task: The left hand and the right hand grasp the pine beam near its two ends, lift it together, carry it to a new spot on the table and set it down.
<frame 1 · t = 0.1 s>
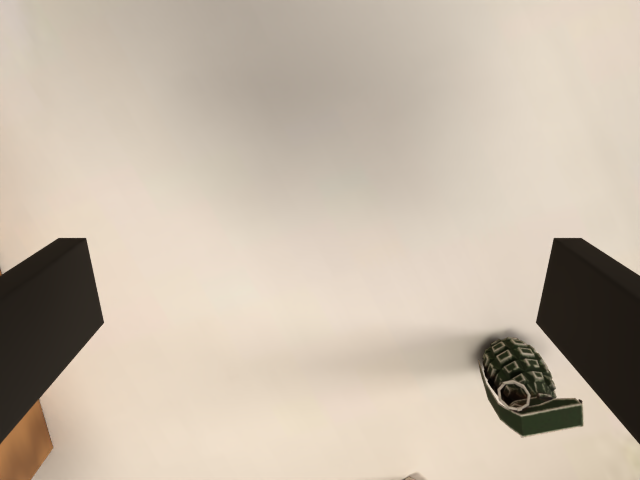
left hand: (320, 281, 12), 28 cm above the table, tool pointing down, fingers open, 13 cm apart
grenade: (499, 350, 47), on the table
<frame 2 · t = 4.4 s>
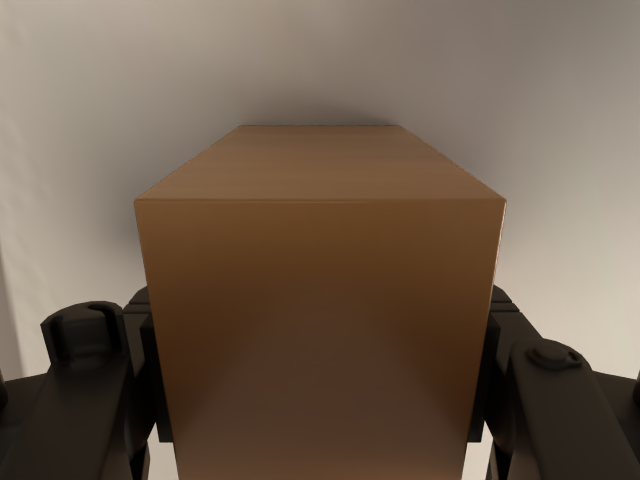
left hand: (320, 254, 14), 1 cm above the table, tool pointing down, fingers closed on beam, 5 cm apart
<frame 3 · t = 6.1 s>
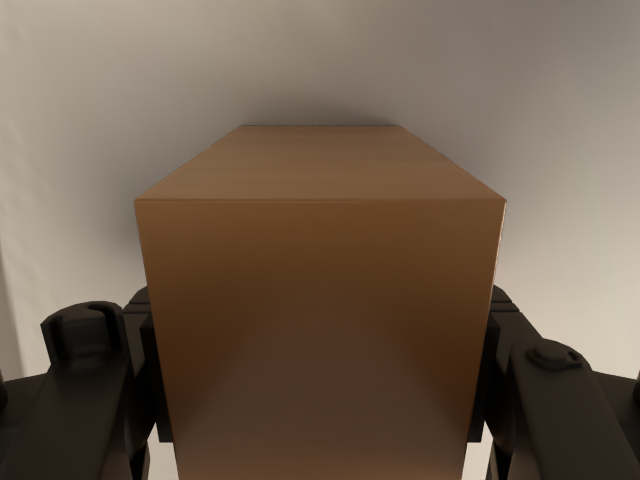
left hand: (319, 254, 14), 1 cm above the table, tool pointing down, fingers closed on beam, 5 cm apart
when the left hand's fingers open (2 cm above the table, at t = 11.0 s): beam stays where it is, on the table.
when the right hand's fingers open (4 cm above the table, at t = 11.2 s): beam stays where it is, on the table.
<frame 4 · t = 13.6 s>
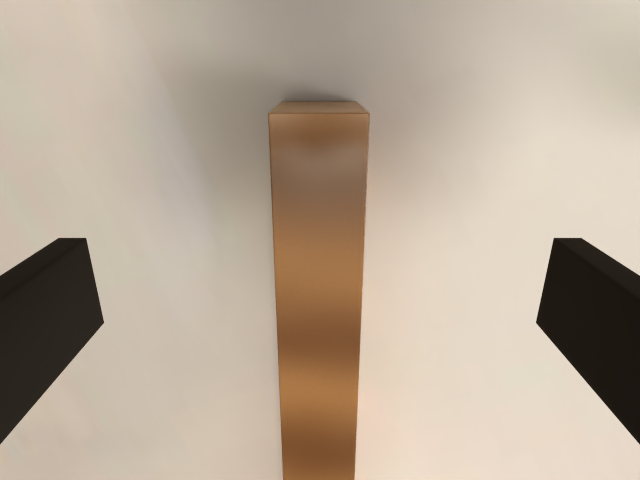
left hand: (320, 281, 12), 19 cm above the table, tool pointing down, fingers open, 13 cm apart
beam: (318, 466, 41), on the table
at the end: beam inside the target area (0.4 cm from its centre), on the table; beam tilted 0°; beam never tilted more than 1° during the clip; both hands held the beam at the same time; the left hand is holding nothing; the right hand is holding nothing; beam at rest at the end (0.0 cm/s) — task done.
